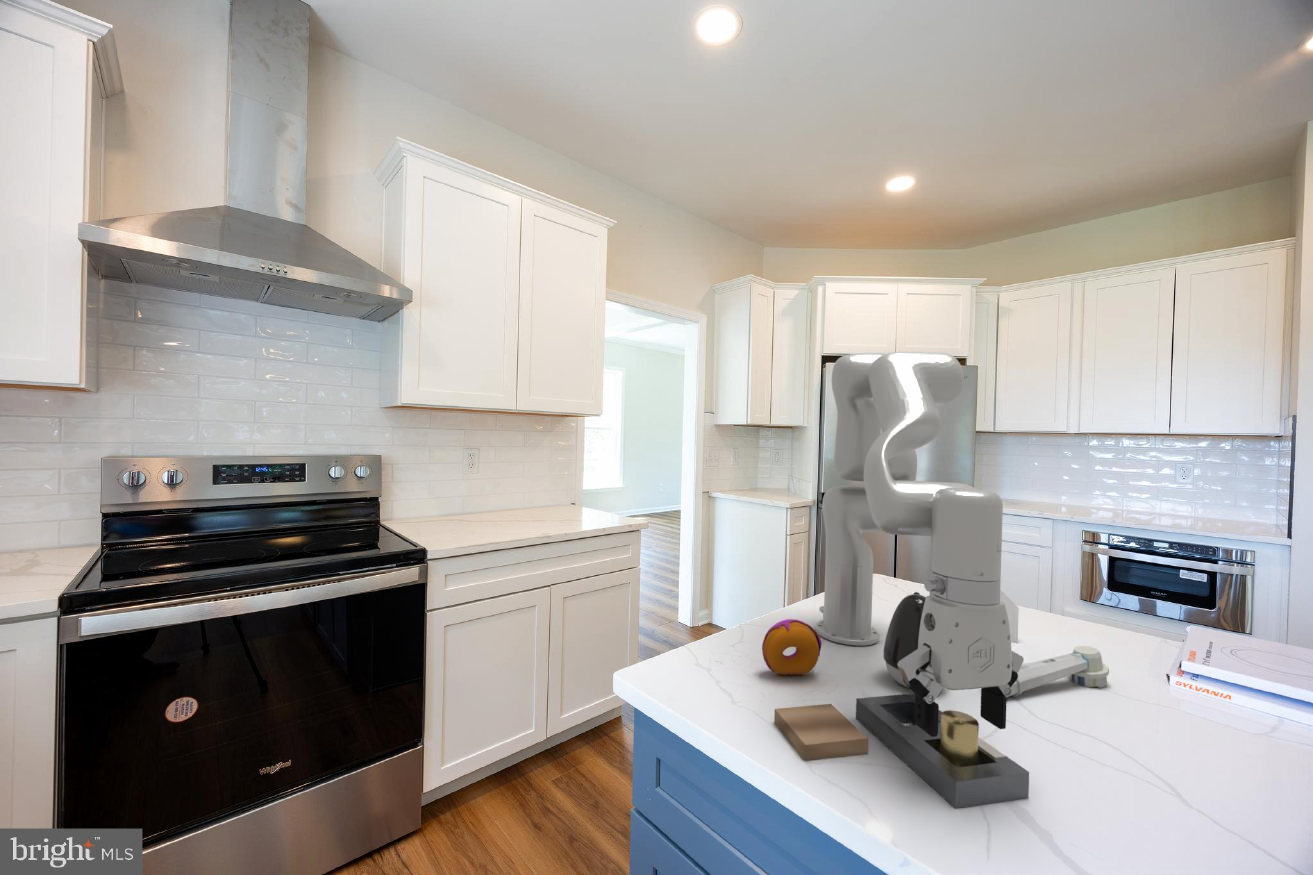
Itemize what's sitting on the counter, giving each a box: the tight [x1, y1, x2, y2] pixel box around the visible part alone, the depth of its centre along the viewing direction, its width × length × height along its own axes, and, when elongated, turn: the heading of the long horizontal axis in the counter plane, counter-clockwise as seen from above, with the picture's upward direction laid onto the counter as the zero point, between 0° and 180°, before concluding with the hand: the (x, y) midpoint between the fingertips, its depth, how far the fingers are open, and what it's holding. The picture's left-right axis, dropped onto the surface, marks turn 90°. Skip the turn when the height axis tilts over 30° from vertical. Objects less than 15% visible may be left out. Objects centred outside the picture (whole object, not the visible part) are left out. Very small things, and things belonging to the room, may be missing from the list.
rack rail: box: [855, 692, 1030, 809], centre depth 69 cm, size 19×10×3 cm, turn 13°
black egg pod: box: [882, 591, 933, 689], centre depth 89 cm, size 10×10×15 cm
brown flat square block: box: [773, 703, 869, 761], centre depth 72 cm, size 9×9×2 cm
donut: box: [761, 618, 823, 676], centre depth 91 cm, size 8×9×10 cm
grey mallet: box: [1006, 645, 1110, 698], centre depth 89 cm, size 5×7×25 cm
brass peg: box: [940, 709, 980, 768], centre depth 65 cm, size 4×4×7 cm
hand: (959, 726), depth 65 cm, fingers open, 9 cm apart
